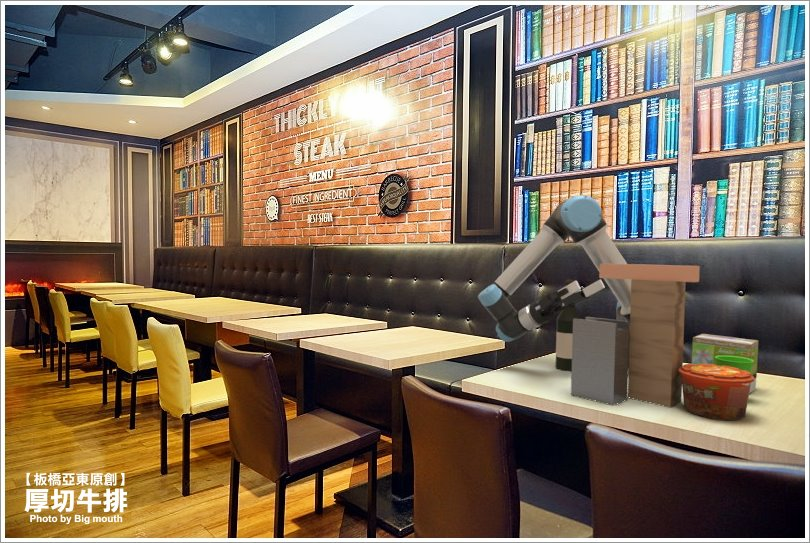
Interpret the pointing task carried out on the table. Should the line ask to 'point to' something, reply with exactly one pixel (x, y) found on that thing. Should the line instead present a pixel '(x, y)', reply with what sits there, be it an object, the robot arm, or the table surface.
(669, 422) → the table surface
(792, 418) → the table surface
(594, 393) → the block
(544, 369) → the table surface
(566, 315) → the wine bottle
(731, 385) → the food container
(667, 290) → the post
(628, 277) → the bar
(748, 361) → the cup
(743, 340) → the tea box
